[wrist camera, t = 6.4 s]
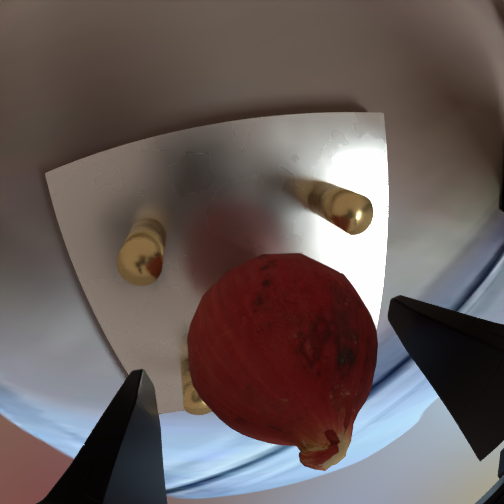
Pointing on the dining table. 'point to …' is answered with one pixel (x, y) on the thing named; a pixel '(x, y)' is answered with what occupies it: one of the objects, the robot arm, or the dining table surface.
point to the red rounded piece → (285, 354)
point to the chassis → (218, 224)
